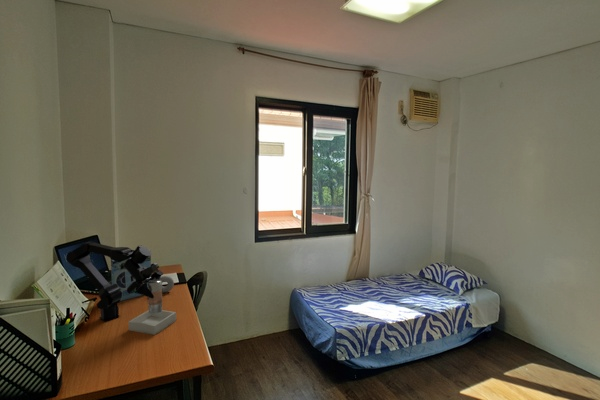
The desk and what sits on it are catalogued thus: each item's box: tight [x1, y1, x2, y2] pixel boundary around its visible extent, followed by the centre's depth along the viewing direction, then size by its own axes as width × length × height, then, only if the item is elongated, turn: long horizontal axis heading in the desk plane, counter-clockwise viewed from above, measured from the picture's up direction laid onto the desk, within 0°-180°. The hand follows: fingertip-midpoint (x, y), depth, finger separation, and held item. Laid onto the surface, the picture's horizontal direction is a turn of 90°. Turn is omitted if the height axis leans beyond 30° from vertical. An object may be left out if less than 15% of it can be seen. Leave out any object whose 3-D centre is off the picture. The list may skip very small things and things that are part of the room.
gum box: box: [110, 254, 152, 302], centre depth 175 cm, size 20×5×23 cm, turn 134°
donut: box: [160, 275, 175, 294], centre depth 182 cm, size 10×4×10 cm, turn 113°
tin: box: [147, 279, 163, 314], centre depth 144 cm, size 6×6×14 cm
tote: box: [127, 309, 177, 336], centre depth 143 cm, size 14×14×4 cm
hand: (157, 295), depth 144 cm, fingers closed on tin, 6 cm apart
